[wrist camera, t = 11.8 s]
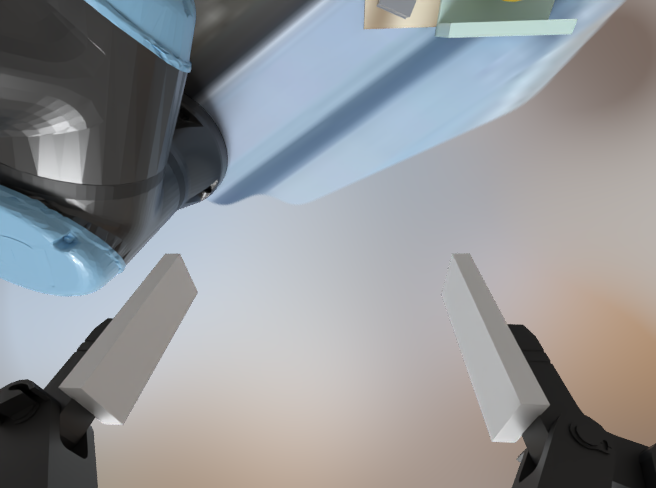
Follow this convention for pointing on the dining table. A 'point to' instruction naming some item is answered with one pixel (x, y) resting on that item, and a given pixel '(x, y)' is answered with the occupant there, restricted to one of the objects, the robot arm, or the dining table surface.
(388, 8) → the clip
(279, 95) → the dining table surface
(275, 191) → the dining table surface
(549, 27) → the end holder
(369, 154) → the dining table surface
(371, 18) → the board
